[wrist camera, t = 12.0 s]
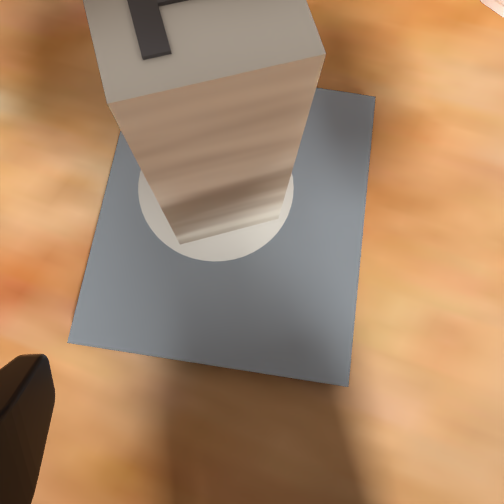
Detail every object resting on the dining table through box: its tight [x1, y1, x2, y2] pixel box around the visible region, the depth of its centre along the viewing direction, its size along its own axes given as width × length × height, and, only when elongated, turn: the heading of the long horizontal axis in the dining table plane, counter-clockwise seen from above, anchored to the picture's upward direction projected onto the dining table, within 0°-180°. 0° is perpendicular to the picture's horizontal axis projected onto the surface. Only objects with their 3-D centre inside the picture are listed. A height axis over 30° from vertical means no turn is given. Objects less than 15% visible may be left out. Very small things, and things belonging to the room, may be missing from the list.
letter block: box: [83, 0, 326, 245], centre depth 15 cm, size 5×5×11 cm
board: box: [67, 88, 375, 387], centre depth 20 cm, size 14×12×1 cm
